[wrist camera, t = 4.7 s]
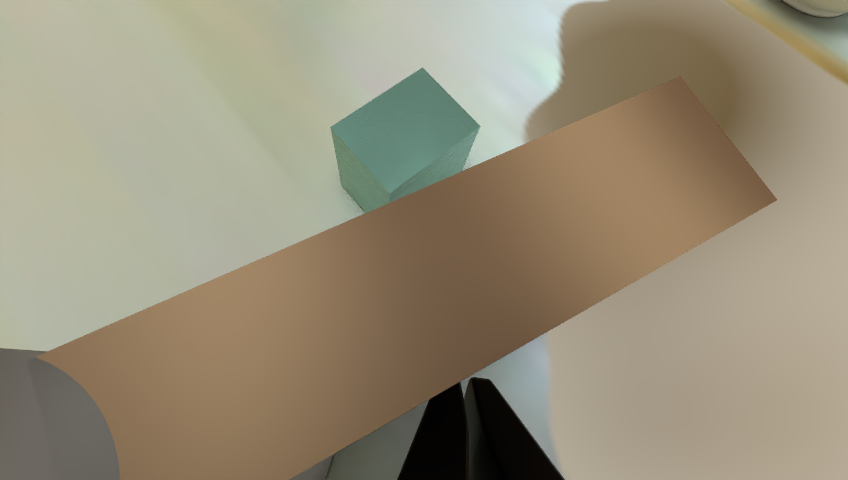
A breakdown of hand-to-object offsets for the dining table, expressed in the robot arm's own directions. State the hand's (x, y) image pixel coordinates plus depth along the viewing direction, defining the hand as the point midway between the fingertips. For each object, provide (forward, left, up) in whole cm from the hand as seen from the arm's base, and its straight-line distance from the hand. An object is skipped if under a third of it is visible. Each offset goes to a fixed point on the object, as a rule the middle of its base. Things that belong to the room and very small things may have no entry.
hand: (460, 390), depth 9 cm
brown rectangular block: (+2, +1, -4) cm, 5 cm away
